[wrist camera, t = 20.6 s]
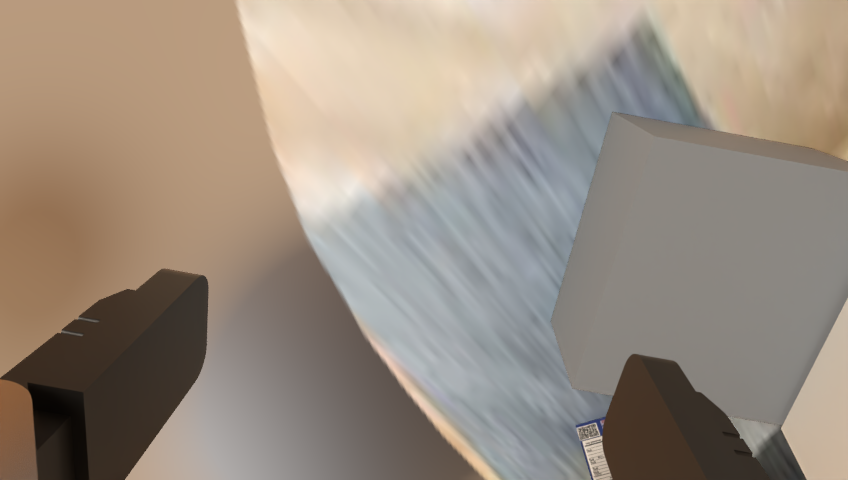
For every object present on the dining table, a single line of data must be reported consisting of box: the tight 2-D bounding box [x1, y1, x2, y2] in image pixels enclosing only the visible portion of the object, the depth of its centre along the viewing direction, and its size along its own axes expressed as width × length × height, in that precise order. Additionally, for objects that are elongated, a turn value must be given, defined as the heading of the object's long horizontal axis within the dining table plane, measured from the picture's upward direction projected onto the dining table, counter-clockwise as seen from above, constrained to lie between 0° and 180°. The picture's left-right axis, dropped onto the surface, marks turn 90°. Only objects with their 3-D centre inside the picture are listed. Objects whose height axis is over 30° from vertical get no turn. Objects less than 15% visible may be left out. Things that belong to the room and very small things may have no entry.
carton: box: [551, 112, 848, 426], centre depth 43 cm, size 19×16×10 cm
